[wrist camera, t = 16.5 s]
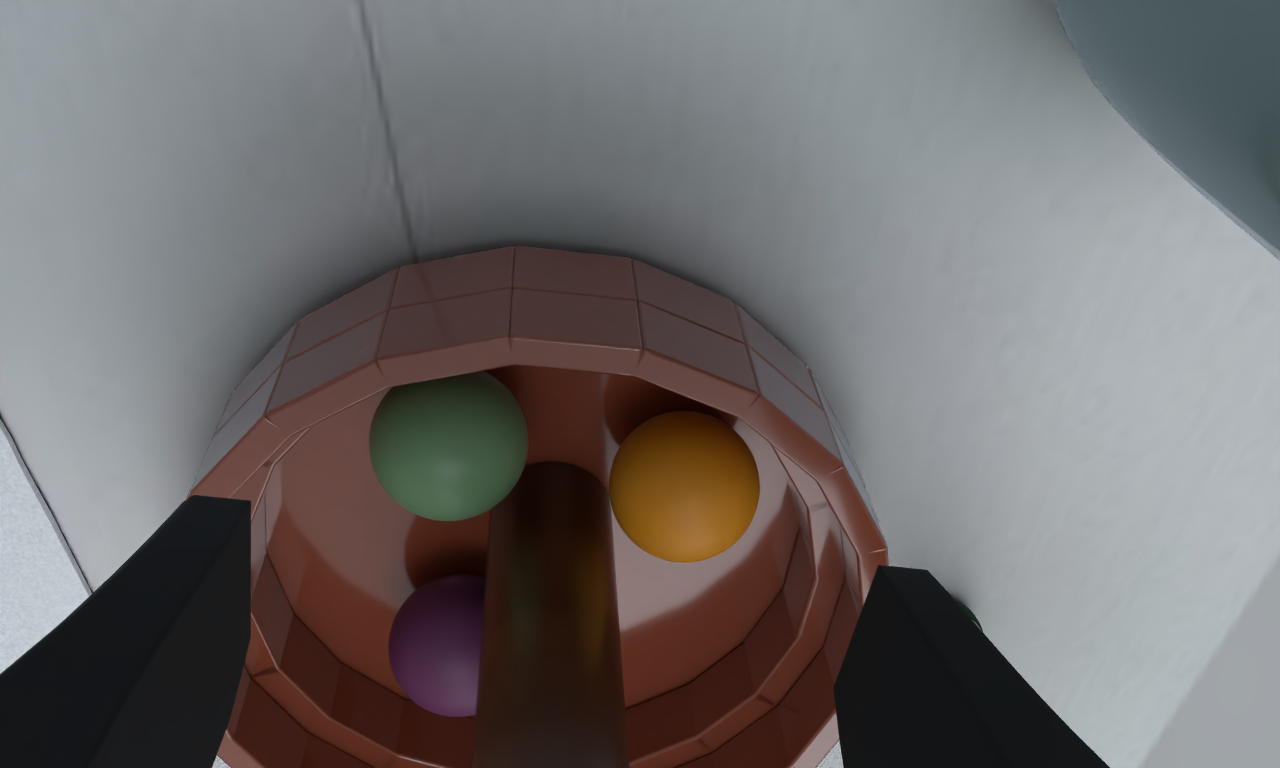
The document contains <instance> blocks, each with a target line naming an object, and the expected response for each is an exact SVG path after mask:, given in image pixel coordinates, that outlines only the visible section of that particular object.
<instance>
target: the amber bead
mask: <svg viewBox="0 0 1280 768" xmlns="http://www.w3.org/2000/svg"><path fill="white" fill-rule="evenodd" d="M759 495H760V480H759V473H758V469H757V465H756V462H755V459H754V456H753V454H752V452H751V450H750V449H749V447H748V445H747V444H746V442H745V441H744V440H743V438H742V437H741V436H740V435H739V434H738V433H737V432H736V431H735V430H734V429H733V428H731V427H730V426H729V425H727V424H726V423H724V422H723V421H721V420H719V419H717V418H715V417H712V416H710V415H707V414H704V413H700V412H695V411H675V412H668V413H664V414H661V415H658V416H655V417H653V418H651V419H649V420H647V421H645V422H644V423H642V424H641V425H640V426H638V427H637V428H636V429H634V430H633V431H632V432H631V433H630V434H629V435H628V437H627V438H626V439H625V440H624V441H623V443H622V444H621V446H620V447H619V449H618V451H617V453H616V455H615V457H614V460H613V463H612V467H611V470H610V476H609V497H610V503H611V506H612V510H613V513H614V516H615V518H616V520H617V522H618V524H619V526H620V527H621V529H622V530H623V532H624V533H625V534H626V535H627V537H628V538H629V539H630V540H631V541H632V542H633V543H634V544H635V545H637V546H638V547H639V548H641V549H642V550H643V551H645V552H647V553H649V554H651V555H653V556H655V557H657V558H660V559H663V560H666V561H671V562H681V563H689V562H697V561H703V560H706V559H709V558H712V557H714V556H717V555H719V554H721V553H722V552H724V551H725V550H727V549H729V548H730V547H731V546H732V545H733V544H735V543H736V542H737V541H738V540H739V539H740V538H741V537H742V535H743V534H744V533H745V532H746V530H747V528H748V527H749V525H750V524H751V522H752V520H753V518H754V515H755V512H756V509H757V506H758V501H759Z"/></svg>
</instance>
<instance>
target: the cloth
mask: <svg viewBox="0 0 1280 768" xmlns="http://www.w3.org/2000/svg"><path fill="white" fill-rule="evenodd" d="M91 594H92V592H91V590H90V589H89V587H88V585H87V583H86V581H85V579H84V577H83V575H82V573H81V571H80V569H79V567H78V565H77V563H76V561H75V559H74V557H73V555H72V553H71V551H70V549H69V547H68V545H67V543H66V541H65V539H64V537H63V535H62V533H61V531H60V529H59V527H58V525H57V523H56V521H55V519H54V517H53V515H52V514H51V512H50V510H49V508H48V506H47V504H46V503H45V501H44V499H43V497H42V495H41V494H40V492H39V490H38V488H37V486H36V485H35V483H34V481H33V479H32V477H31V475H30V474H29V472H28V470H27V468H26V466H25V464H24V462H23V460H22V458H21V456H20V454H19V452H18V450H17V448H16V446H15V444H14V442H13V440H12V438H11V436H10V434H9V433H8V431H7V429H6V428H5V426H4V424H3V422H2V421H1V419H0V674H1V673H2V672H3V671H4V670H5V669H7V668H8V667H9V666H10V665H11V664H13V663H14V662H15V661H16V660H17V659H19V658H20V657H21V656H22V655H23V654H25V653H26V652H27V651H28V650H29V649H30V648H32V647H33V646H34V645H35V644H36V643H38V642H39V641H40V640H41V639H42V638H44V637H45V636H46V635H47V634H48V633H50V632H51V631H52V630H53V629H54V628H55V627H57V626H58V625H59V624H60V623H61V622H62V621H63V620H64V619H66V618H67V617H68V616H69V615H70V614H71V613H72V612H73V611H74V610H75V609H76V608H77V607H79V606H80V605H81V604H82V603H83V602H84V601H85V600H86V599H87V598H88V597H89V596H90V595H91Z"/></svg>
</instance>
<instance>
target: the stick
mask: <svg viewBox="0 0 1280 768" xmlns="http://www.w3.org/2000/svg"><path fill="white" fill-rule="evenodd" d="M472 768H629V756H628V742H627V728H626V713H625V699H624V685H623V670H622V656H621V642H620V628H619V613H618V599H617V585H616V570H615V556H614V542H613V527H612V513H611V503H610V498H609V496H608V493H607V491H606V490H605V488H604V486H603V485H602V484H601V483H600V482H599V480H597V479H596V478H595V477H594V476H593V475H591V474H590V473H589V472H587V471H585V470H583V469H581V468H579V467H576V466H574V465H570V464H566V463H559V462H544V463H537V464H533V465H529V466H526V467H524V469H523V472H522V474H521V476H520V478H519V480H518V481H517V483H516V485H515V486H514V488H513V489H512V490H511V492H510V493H509V494H508V495H507V496H506V497H505V498H504V499H503V500H502V501H501V502H500V503H499V504H497V505H496V506H494V507H493V508H492V509H490V519H489V533H488V547H487V561H486V575H485V589H484V603H483V617H482V631H481V645H480V659H479V673H478V687H477V701H476V715H475V729H474V743H473V757H472Z"/></svg>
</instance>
